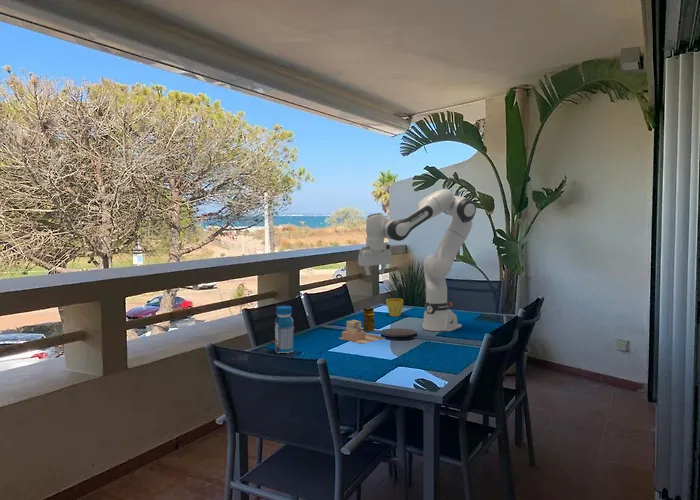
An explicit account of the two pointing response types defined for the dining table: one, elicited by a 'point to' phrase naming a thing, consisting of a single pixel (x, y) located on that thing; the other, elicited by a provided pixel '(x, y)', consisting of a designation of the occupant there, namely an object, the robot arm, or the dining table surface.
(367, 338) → the cork placemat
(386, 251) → the robot arm
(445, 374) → the dining table surface
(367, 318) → the condiment
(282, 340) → the beverage bottle
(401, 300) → the plant pot
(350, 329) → the maple cube
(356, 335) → the terracotta block
